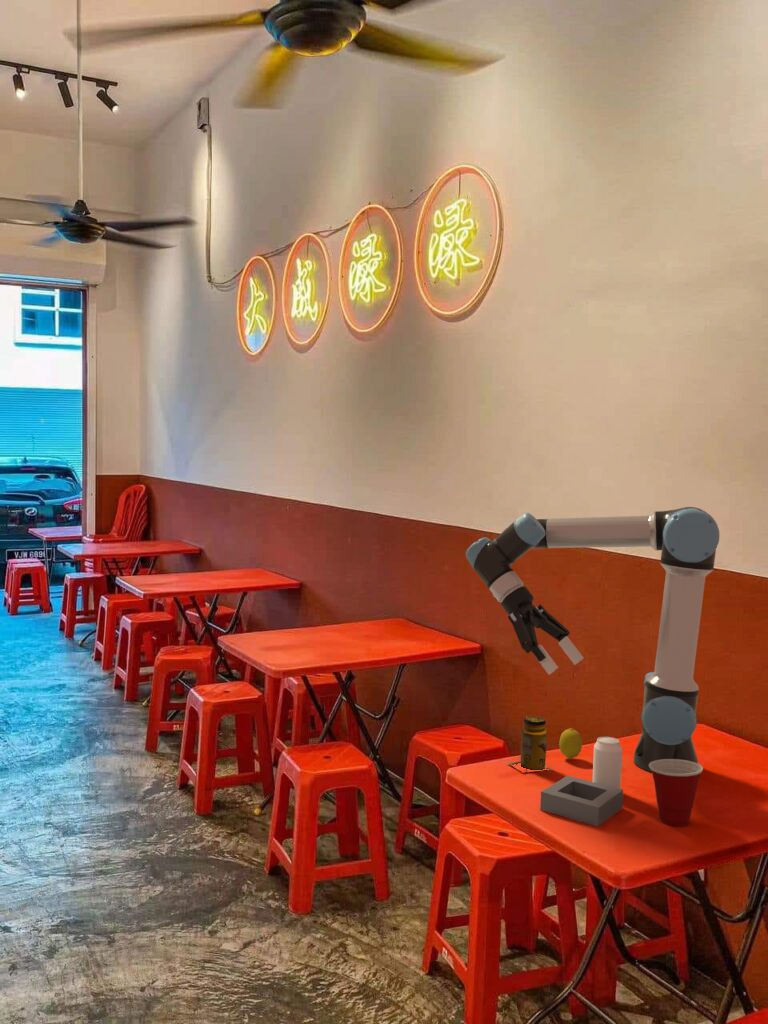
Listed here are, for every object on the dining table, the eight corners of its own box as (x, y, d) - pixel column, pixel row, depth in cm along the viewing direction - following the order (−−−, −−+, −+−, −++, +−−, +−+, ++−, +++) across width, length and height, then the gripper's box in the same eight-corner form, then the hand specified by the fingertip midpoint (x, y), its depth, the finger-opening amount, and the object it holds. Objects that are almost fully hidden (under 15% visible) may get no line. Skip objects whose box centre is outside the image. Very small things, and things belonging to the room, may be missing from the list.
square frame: (567, 792, 197) (567, 775, 196) (622, 808, 189) (623, 789, 188) (540, 810, 186) (541, 791, 186) (597, 826, 178) (598, 807, 178)
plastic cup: (657, 806, 190) (660, 752, 190) (707, 820, 183) (710, 764, 183) (637, 821, 182) (640, 764, 181) (689, 836, 175) (692, 777, 174)
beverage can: (608, 785, 202) (610, 734, 201) (626, 795, 196) (628, 742, 196) (586, 788, 199) (588, 737, 199) (603, 798, 194) (605, 745, 193)
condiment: (552, 770, 211) (554, 721, 211) (523, 774, 208) (525, 724, 207) (535, 760, 218) (537, 713, 217) (506, 764, 214) (508, 716, 214)
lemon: (569, 754, 223) (571, 723, 223) (585, 760, 219) (587, 729, 218) (554, 757, 220) (555, 726, 220) (569, 764, 216) (571, 732, 215)
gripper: (526, 598, 223) (578, 666, 214) (475, 609, 203) (530, 685, 195) (546, 580, 219) (600, 648, 211) (496, 589, 199) (553, 665, 191)
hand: (566, 666), depth 203 cm, fingers open, 13 cm apart
